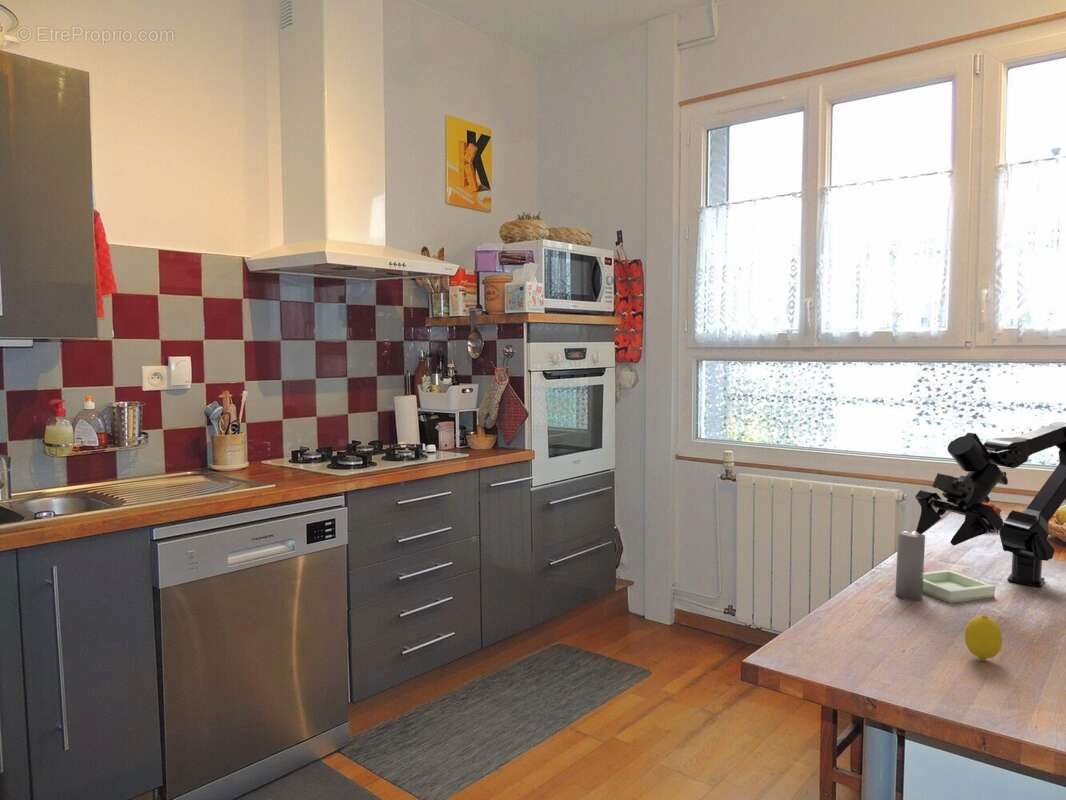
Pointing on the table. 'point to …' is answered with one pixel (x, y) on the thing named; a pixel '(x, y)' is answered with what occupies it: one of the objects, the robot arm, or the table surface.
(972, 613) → the table surface
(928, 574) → the sage dish
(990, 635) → the lemon
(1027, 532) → the robot arm
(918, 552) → the grey can
